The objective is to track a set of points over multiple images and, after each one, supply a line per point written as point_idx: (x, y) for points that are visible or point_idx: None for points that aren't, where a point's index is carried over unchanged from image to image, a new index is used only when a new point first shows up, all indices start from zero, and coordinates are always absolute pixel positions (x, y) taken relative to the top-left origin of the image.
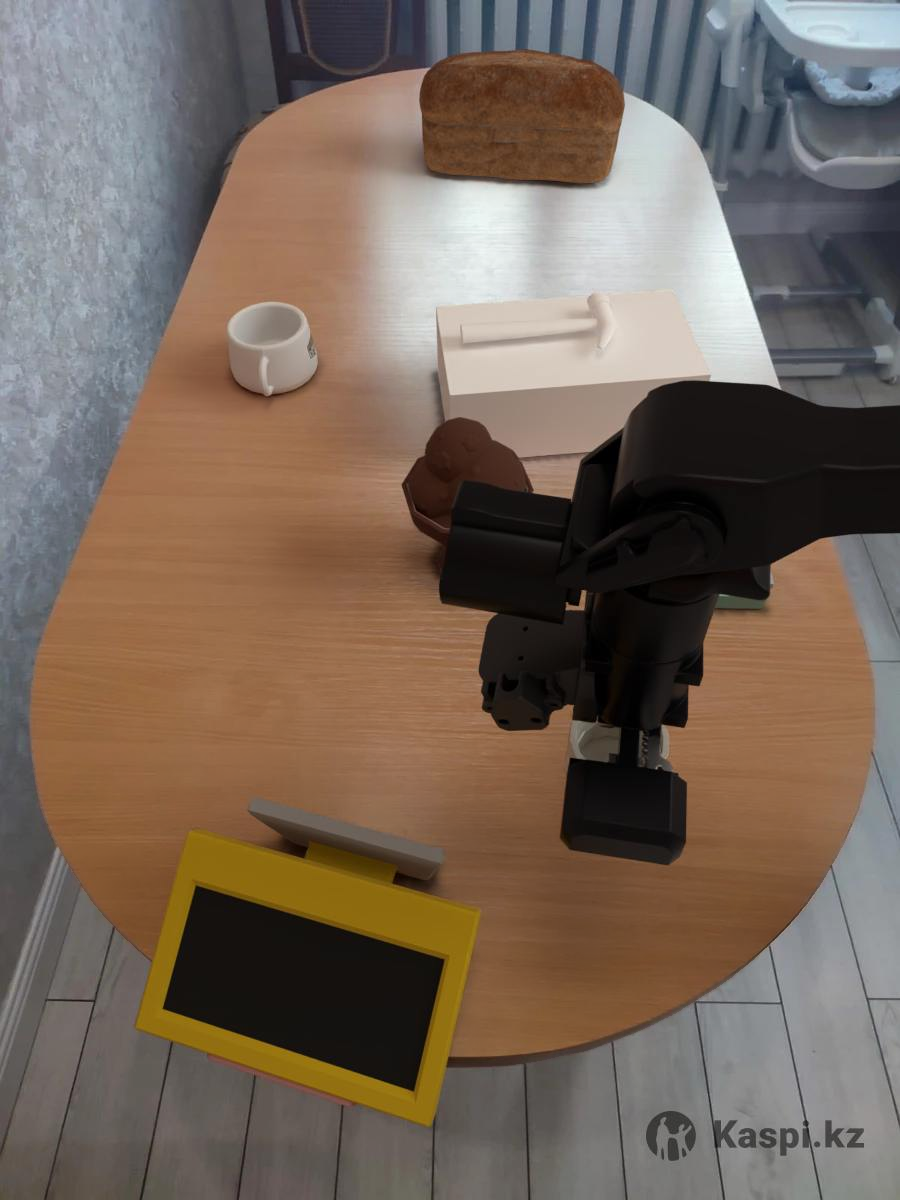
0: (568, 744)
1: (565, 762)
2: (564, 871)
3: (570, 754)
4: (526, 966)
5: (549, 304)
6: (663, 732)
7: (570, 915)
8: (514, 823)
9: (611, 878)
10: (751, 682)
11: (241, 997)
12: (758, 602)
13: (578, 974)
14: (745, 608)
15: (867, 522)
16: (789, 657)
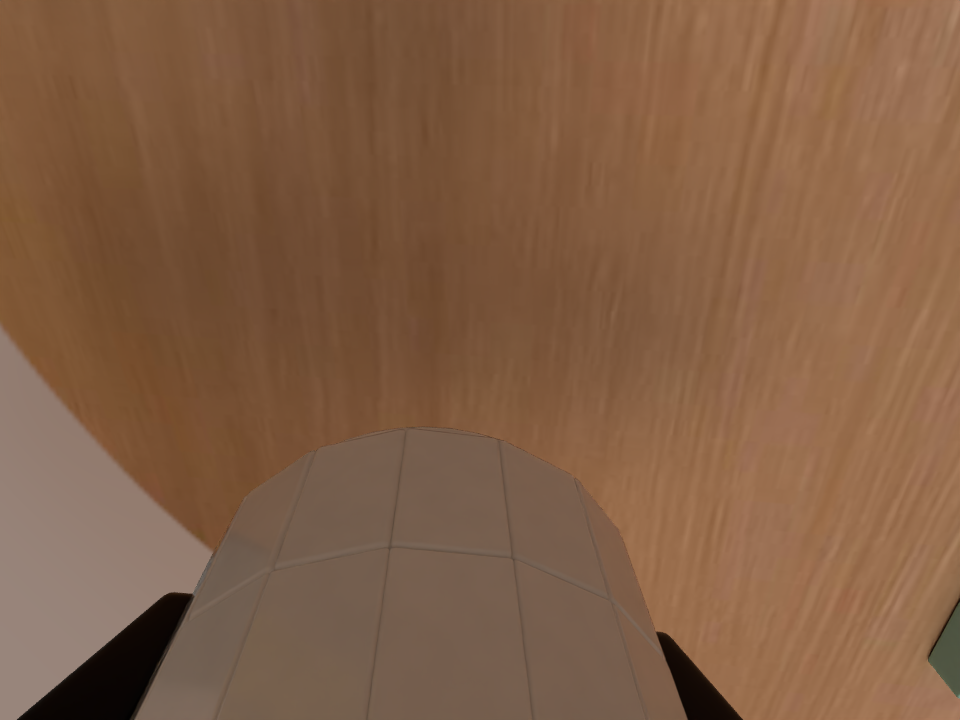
0: (374, 677)
1: (404, 475)
2: (340, 249)
3: (312, 654)
4: (72, 140)
5: None
6: None
7: (230, 258)
8: (466, 118)
9: (336, 354)
10: (769, 627)
11: None
12: (947, 671)
13: (92, 268)
14: (940, 638)
15: None
16: (805, 681)
